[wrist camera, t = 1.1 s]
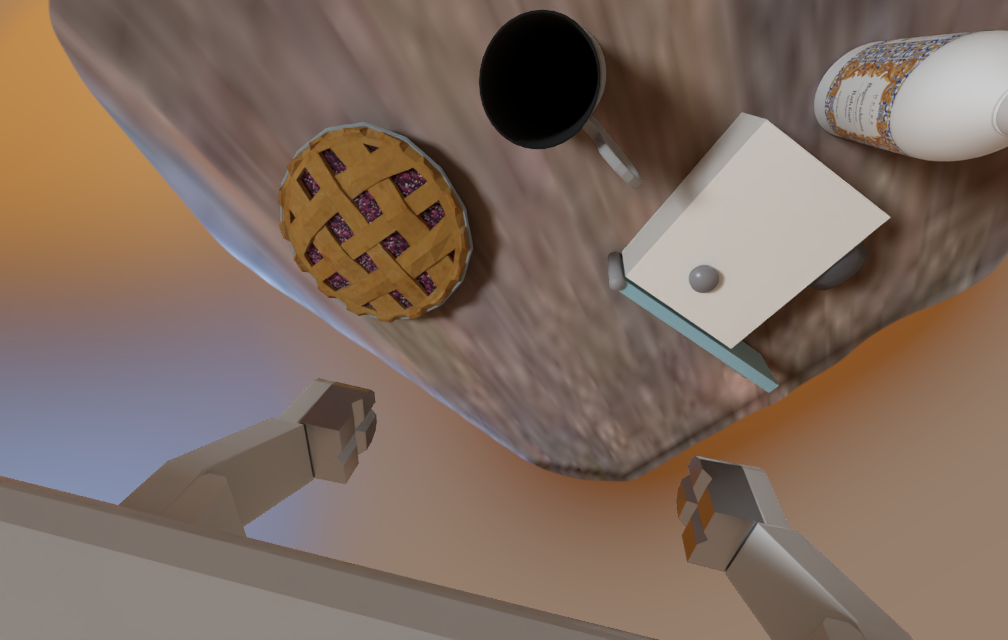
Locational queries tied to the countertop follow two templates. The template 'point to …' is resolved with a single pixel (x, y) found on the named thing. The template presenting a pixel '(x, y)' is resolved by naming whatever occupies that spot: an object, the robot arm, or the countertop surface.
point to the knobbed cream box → (750, 232)
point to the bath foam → (921, 95)
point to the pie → (375, 222)
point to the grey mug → (548, 86)
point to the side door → (693, 329)
